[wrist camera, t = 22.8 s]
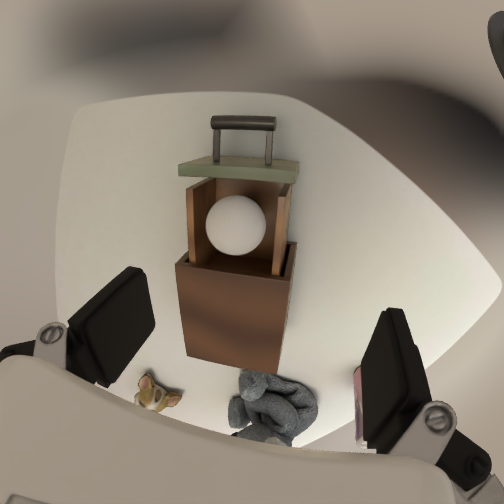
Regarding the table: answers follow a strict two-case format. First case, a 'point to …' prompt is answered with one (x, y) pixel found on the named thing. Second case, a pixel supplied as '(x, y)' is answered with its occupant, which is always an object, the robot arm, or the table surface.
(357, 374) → the beverage can
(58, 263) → the table surface
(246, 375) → the koala plush
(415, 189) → the table surface
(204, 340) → the cabinet
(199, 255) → the drawer
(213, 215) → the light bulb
